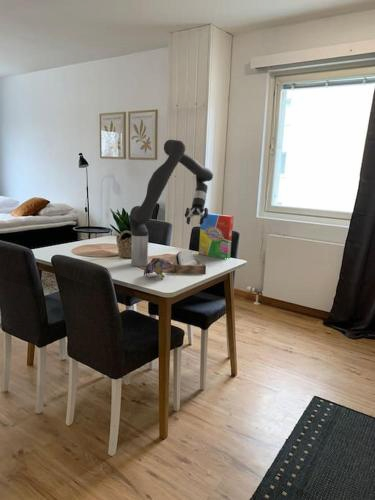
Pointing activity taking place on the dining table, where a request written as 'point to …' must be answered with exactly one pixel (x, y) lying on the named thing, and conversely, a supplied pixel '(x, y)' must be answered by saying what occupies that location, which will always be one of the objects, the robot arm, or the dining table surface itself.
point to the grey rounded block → (185, 258)
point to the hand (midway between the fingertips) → (194, 224)
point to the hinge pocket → (189, 269)
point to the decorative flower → (157, 266)
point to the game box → (216, 235)
